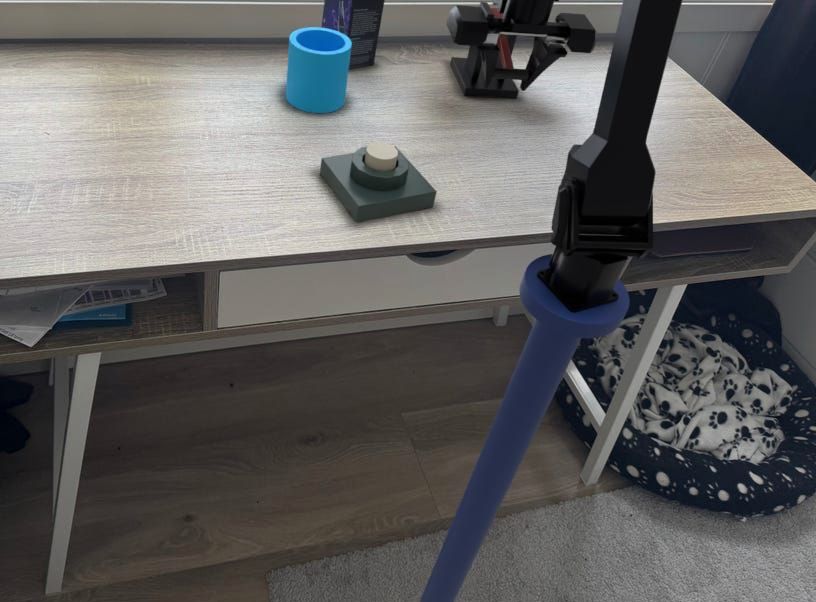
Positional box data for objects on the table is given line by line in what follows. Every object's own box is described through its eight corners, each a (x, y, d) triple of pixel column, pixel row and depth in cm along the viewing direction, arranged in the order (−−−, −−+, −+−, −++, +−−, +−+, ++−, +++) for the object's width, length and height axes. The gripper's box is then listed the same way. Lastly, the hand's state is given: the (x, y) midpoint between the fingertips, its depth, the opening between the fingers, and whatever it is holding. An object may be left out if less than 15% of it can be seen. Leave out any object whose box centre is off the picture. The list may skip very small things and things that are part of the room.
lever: (524, 85, 100) (531, 72, 98) (489, 83, 100) (495, 70, 98) (510, 22, 106) (516, 9, 104) (476, 20, 105) (482, 6, 103)
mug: (354, 109, 100) (362, 51, 94) (299, 116, 97) (303, 57, 91) (319, 69, 107) (325, 13, 102) (267, 74, 104) (269, 17, 99)
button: (401, 169, 83) (403, 156, 82) (373, 174, 82) (375, 161, 81) (386, 153, 85) (388, 140, 84) (359, 157, 84) (361, 144, 83)
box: (318, 47, 113) (325, -26, 105) (350, 43, 115) (359, -29, 107) (343, 70, 108) (351, -4, 100) (375, 65, 110) (386, -8, 103)
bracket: (516, 98, 107) (538, 25, 100) (464, 95, 106) (482, 21, 99) (499, 67, 114) (518, -3, 107) (449, 64, 113) (465, -7, 106)
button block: (433, 207, 85) (440, 178, 82) (356, 222, 81) (360, 192, 78) (392, 161, 91) (398, 132, 88) (319, 173, 87) (322, 144, 85)
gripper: (589, -47, 97) (551, 63, 108) (452, -58, 94) (428, 55, 106) (618, -10, 89) (574, 103, 101) (470, -22, 87) (442, 96, 98)
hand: (503, 88), depth 101 cm, fingers closed on lever, 5 cm apart
